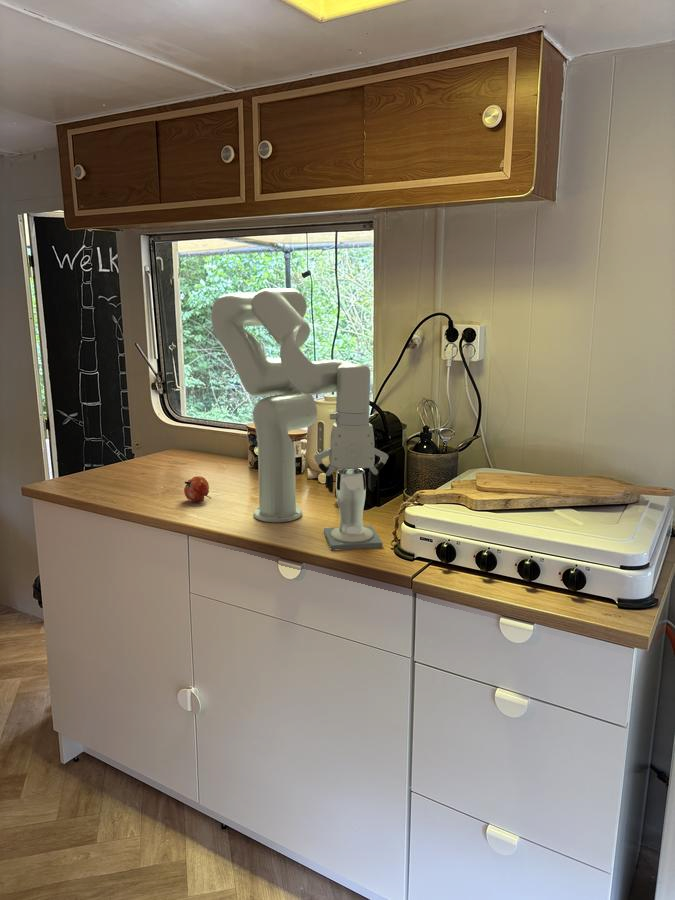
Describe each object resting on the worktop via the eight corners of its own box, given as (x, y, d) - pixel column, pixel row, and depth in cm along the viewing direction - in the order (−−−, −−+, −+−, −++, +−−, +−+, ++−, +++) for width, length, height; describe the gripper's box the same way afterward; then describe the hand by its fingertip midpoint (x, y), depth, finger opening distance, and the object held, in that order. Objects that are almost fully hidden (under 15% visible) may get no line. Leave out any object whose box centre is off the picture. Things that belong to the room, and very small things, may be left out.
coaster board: (323, 532, 171) (323, 525, 171) (371, 530, 173) (371, 523, 173) (330, 550, 160) (330, 543, 159) (382, 547, 162) (382, 540, 161)
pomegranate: (200, 503, 201) (172, 487, 196) (215, 483, 201) (187, 466, 196) (208, 513, 195) (179, 497, 190) (223, 492, 195) (195, 475, 190)
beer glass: (365, 526, 170) (364, 466, 166) (367, 536, 163) (366, 474, 160) (336, 527, 169) (335, 467, 166) (337, 537, 163) (336, 475, 159)
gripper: (317, 422, 155) (316, 496, 159) (393, 421, 158) (390, 493, 162) (312, 415, 162) (312, 486, 166) (385, 414, 165) (383, 484, 169)
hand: (350, 490), depth 164 cm, fingers open, 9 cm apart
